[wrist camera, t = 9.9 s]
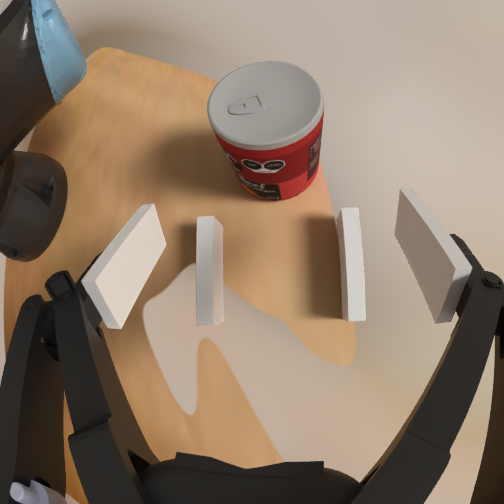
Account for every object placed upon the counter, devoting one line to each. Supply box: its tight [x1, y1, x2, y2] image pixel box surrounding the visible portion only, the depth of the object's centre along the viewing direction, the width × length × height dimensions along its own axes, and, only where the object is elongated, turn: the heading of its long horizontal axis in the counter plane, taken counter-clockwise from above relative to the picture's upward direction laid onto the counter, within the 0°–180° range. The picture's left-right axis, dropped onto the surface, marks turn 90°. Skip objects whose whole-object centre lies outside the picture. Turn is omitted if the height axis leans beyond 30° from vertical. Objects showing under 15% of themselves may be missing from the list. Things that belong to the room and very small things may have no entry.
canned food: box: [207, 61, 324, 201], centre depth 23 cm, size 8×8×11 cm
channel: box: [196, 208, 366, 325], centre depth 25 cm, size 9×13×4 cm
